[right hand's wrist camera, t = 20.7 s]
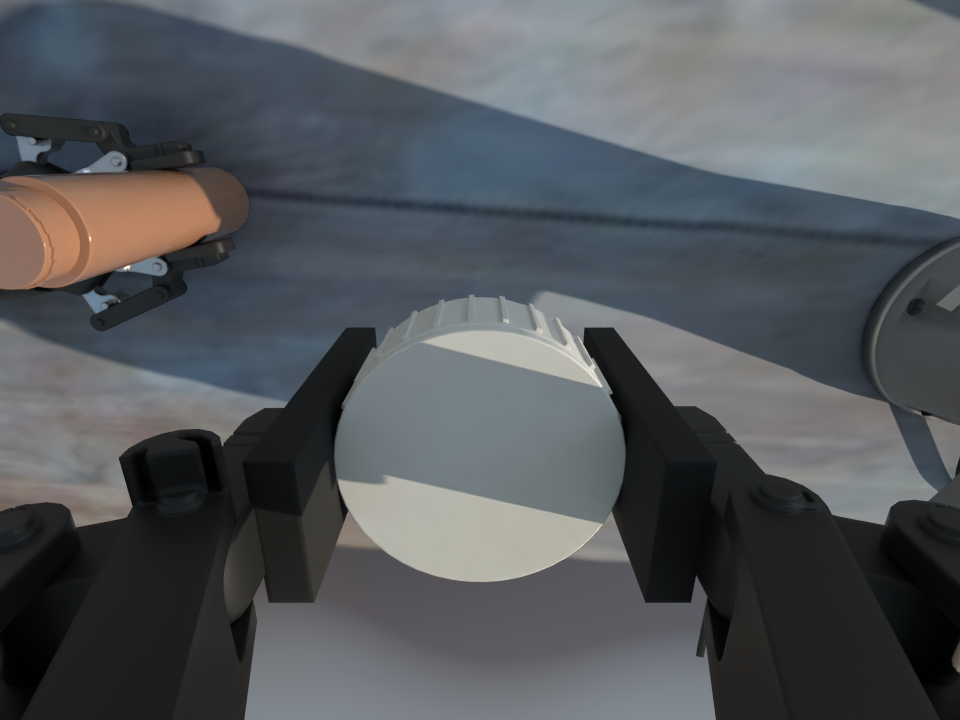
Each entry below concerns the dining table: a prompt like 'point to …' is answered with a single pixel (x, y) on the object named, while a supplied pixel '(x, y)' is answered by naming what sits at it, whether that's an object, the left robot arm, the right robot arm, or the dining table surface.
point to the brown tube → (109, 220)
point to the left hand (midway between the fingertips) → (213, 202)
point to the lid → (479, 442)
